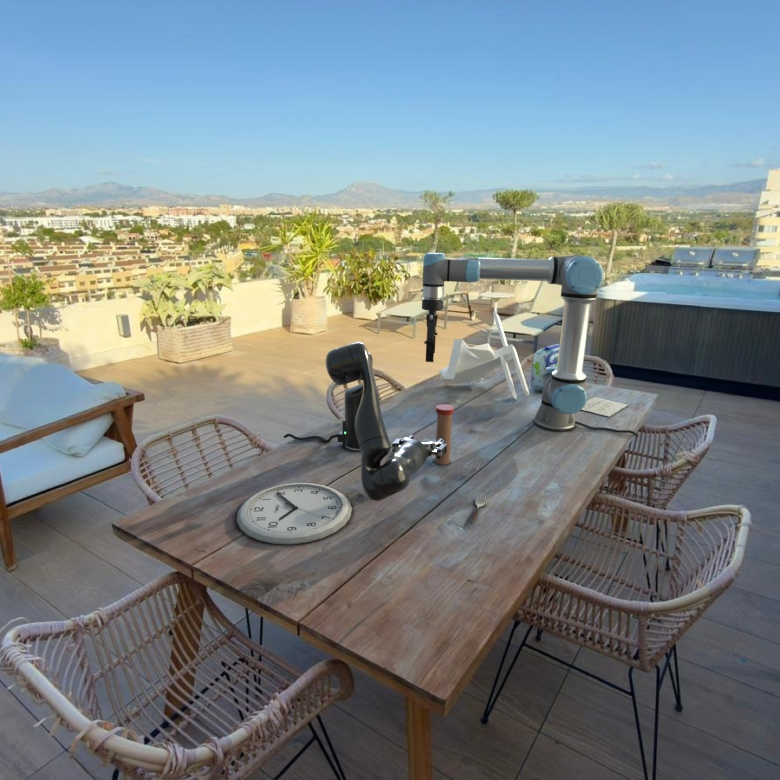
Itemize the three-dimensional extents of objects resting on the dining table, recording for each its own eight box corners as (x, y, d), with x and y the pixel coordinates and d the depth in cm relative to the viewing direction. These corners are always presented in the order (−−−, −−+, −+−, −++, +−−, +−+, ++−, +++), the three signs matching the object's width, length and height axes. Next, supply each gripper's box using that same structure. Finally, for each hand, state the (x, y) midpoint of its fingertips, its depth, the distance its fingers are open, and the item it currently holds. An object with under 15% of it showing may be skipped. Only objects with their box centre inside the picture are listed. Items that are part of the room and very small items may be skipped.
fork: (465, 526, 134) (465, 519, 133) (477, 497, 148) (477, 491, 147) (475, 528, 133) (476, 521, 132) (486, 499, 147) (487, 492, 147)
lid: (449, 416, 162) (449, 411, 161) (432, 413, 165) (433, 408, 164) (456, 411, 167) (456, 406, 166) (440, 408, 169) (440, 403, 169)
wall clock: (352, 536, 126) (224, 540, 123) (352, 542, 126) (225, 546, 123) (351, 478, 154) (247, 481, 151) (351, 483, 155) (247, 486, 152)
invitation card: (608, 416, 214) (573, 407, 224) (608, 416, 214) (573, 408, 224) (628, 404, 229) (594, 396, 238) (628, 405, 229) (594, 397, 238)
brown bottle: (445, 466, 168) (448, 412, 162) (432, 462, 170) (435, 409, 164) (451, 460, 172) (454, 407, 166) (438, 457, 174) (441, 405, 168)
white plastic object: (461, 429, 252) (437, 405, 227) (444, 352, 274) (420, 323, 250) (535, 404, 240) (518, 377, 215) (510, 326, 262) (492, 293, 237)
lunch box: (547, 396, 238) (552, 351, 232) (526, 391, 246) (531, 347, 239) (574, 385, 256) (579, 343, 250) (554, 380, 263) (559, 340, 257)
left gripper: (436, 447, 130) (452, 430, 145) (382, 440, 135) (403, 424, 149) (435, 476, 131) (450, 456, 146) (382, 468, 136) (402, 449, 151)
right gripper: (424, 293, 195) (422, 349, 202) (419, 302, 172) (417, 365, 178) (444, 294, 195) (441, 350, 201) (442, 303, 171) (439, 366, 177)
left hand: (426, 440), depth 148 cm, fingers open, 8 cm apart
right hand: (430, 357), depth 190 cm, fingers open, 13 cm apart
